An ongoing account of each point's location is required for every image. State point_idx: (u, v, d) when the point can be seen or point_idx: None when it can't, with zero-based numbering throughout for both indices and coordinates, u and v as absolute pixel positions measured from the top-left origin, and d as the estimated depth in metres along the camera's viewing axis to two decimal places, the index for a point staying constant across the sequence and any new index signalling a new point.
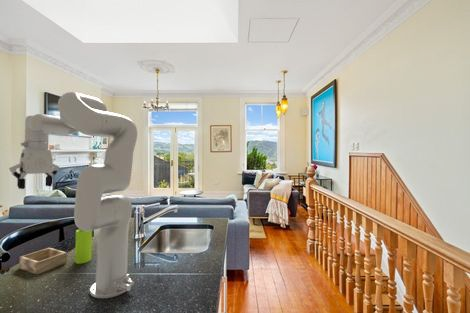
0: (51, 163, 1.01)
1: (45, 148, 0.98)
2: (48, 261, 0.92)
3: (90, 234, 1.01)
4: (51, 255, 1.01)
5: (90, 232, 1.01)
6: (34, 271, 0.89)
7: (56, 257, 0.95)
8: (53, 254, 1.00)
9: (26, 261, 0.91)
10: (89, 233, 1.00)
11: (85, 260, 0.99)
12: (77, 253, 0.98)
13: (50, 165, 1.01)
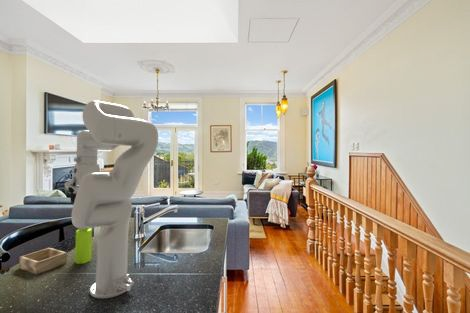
0: None
1: (95, 163, 1.01)
2: (48, 261, 0.92)
3: (90, 234, 1.01)
4: (51, 255, 1.01)
5: (90, 232, 1.01)
6: (34, 271, 0.89)
7: (56, 257, 0.95)
8: (53, 254, 1.00)
9: (26, 261, 0.91)
10: (89, 233, 1.00)
11: (85, 260, 0.99)
12: (77, 253, 0.98)
13: None
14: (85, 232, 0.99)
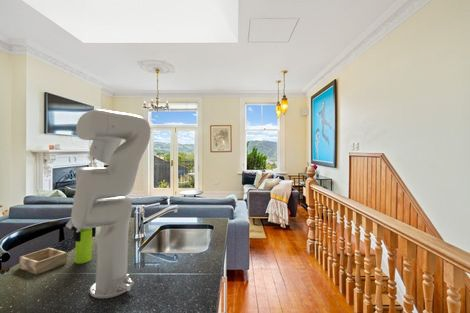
0: None
1: None
2: (48, 261, 0.92)
3: (90, 234, 1.01)
4: (51, 255, 1.01)
5: (90, 232, 1.01)
6: (34, 271, 0.89)
7: (56, 257, 0.95)
8: (53, 254, 1.00)
9: (26, 261, 0.91)
10: (89, 233, 1.00)
11: (85, 260, 0.99)
12: (77, 253, 0.98)
13: None
14: (85, 232, 0.99)
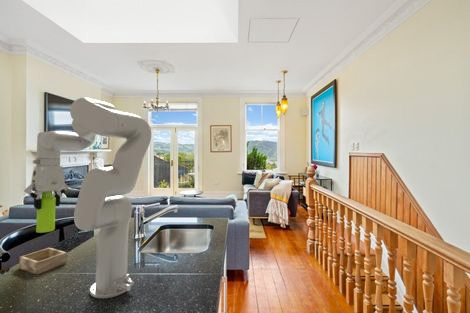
0: (63, 180, 0.99)
1: (57, 165, 0.96)
2: (48, 261, 0.92)
3: (53, 202, 0.96)
4: (51, 255, 1.01)
5: (53, 200, 0.96)
6: (34, 271, 0.89)
7: (56, 257, 0.95)
8: (53, 254, 1.00)
9: (26, 261, 0.91)
10: (51, 201, 0.95)
11: (47, 229, 0.94)
12: (38, 221, 0.93)
13: (62, 182, 0.98)
14: (47, 200, 0.94)
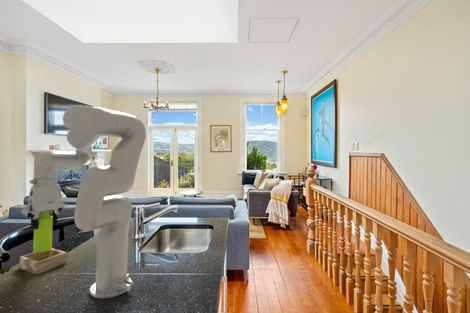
0: (60, 198, 0.99)
1: (54, 184, 0.95)
2: (48, 261, 0.92)
3: (50, 222, 0.96)
4: (51, 255, 1.01)
5: (50, 219, 0.96)
6: (34, 271, 0.89)
7: (56, 257, 0.95)
8: (53, 254, 1.00)
9: (26, 261, 0.91)
10: (48, 220, 0.95)
11: (44, 249, 0.94)
12: (35, 241, 0.93)
13: (59, 201, 0.98)
14: (44, 219, 0.94)
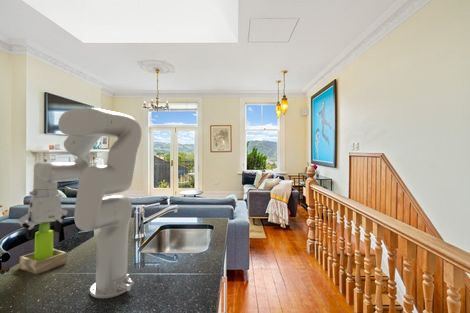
0: (60, 209, 0.98)
1: (54, 195, 0.95)
2: (48, 261, 0.92)
3: (51, 236, 0.96)
4: None
5: (51, 234, 0.96)
6: (34, 271, 0.89)
7: (56, 257, 0.95)
8: (53, 254, 1.00)
9: (26, 261, 0.91)
10: (49, 235, 0.95)
11: None
12: (36, 256, 0.93)
13: (59, 211, 0.98)
14: (45, 234, 0.94)
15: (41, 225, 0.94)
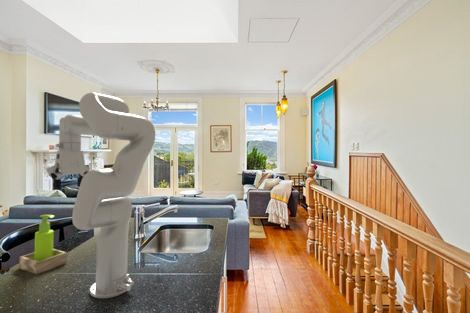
0: (83, 164, 1.03)
1: (79, 149, 1.00)
2: (48, 261, 0.92)
3: (51, 236, 0.96)
4: None
5: (51, 234, 0.96)
6: (34, 271, 0.89)
7: (56, 257, 0.95)
8: (53, 254, 1.00)
9: (26, 261, 0.91)
10: (49, 235, 0.95)
11: None
12: (36, 256, 0.93)
13: (83, 166, 1.02)
14: (45, 234, 0.94)
15: (41, 225, 0.94)
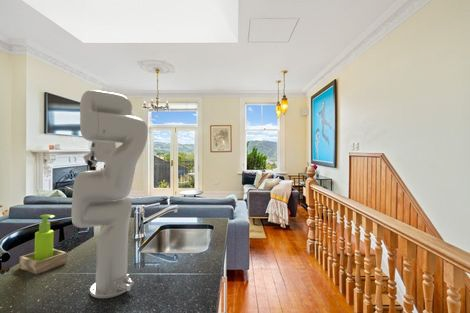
0: None
1: None
2: (48, 261, 0.92)
3: (51, 236, 0.96)
4: None
5: (51, 234, 0.96)
6: (34, 271, 0.89)
7: (56, 257, 0.95)
8: (53, 254, 1.00)
9: (26, 261, 0.91)
10: (49, 235, 0.95)
11: None
12: (36, 256, 0.93)
13: None
14: (45, 234, 0.94)
15: (41, 225, 0.94)
